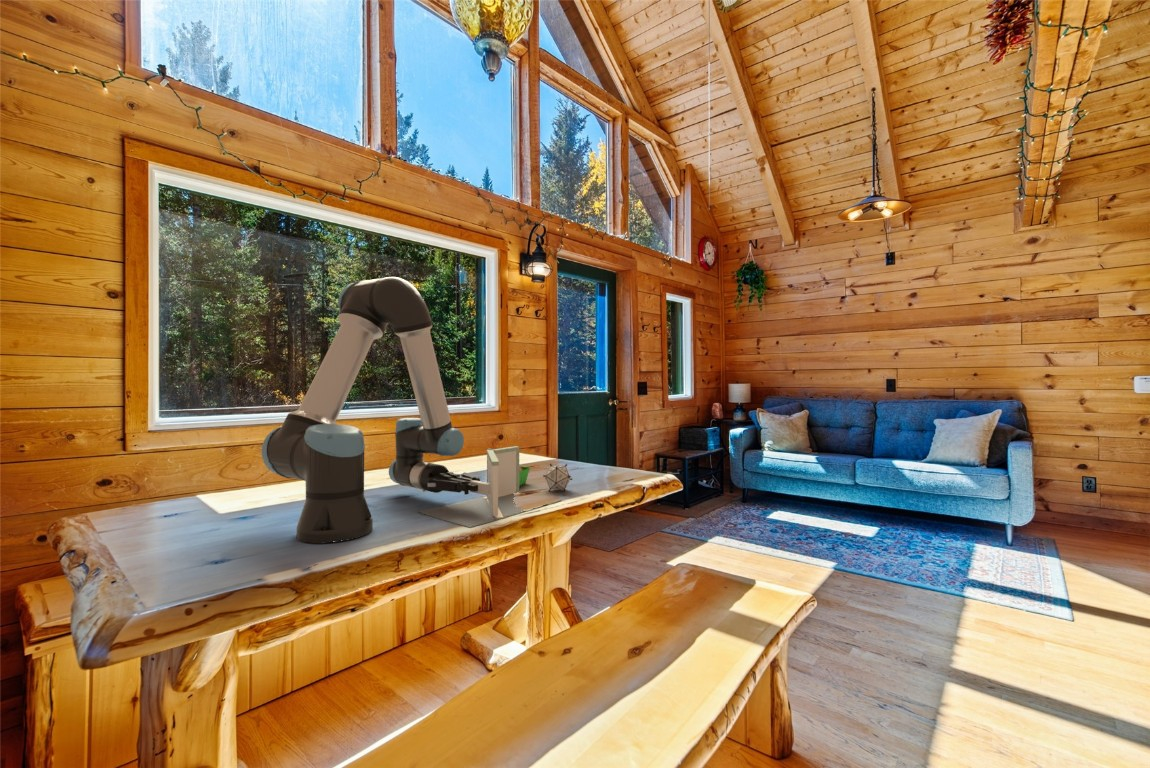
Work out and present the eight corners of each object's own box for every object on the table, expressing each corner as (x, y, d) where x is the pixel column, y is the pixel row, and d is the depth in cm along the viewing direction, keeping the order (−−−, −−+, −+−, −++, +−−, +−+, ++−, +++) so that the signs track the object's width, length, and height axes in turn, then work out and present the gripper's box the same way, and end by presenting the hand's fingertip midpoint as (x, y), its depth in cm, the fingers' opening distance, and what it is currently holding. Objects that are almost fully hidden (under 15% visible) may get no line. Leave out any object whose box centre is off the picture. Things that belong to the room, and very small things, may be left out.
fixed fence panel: (495, 498, 144) (495, 450, 144) (491, 497, 145) (491, 449, 145) (519, 492, 151) (519, 446, 151) (515, 491, 152) (515, 446, 152)
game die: (562, 501, 155) (580, 474, 158) (559, 498, 147) (578, 469, 150) (538, 485, 158) (556, 458, 160) (533, 481, 150) (553, 452, 152)
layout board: (470, 528, 116) (470, 526, 116) (418, 512, 129) (418, 511, 129) (561, 501, 141) (561, 499, 141) (510, 490, 154) (510, 489, 154)
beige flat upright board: (498, 517, 124) (498, 460, 124) (492, 517, 123) (492, 460, 123) (492, 497, 144) (492, 448, 144) (486, 497, 144) (486, 448, 144)
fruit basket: (515, 490, 154) (515, 453, 154) (489, 488, 157) (489, 451, 157) (531, 483, 165) (531, 448, 165) (506, 481, 168) (506, 446, 167)
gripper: (449, 486, 146) (508, 499, 131) (410, 495, 136) (468, 510, 121) (449, 460, 146) (508, 470, 131) (410, 466, 136) (468, 478, 121)
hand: (489, 489), depth 126 cm, fingers closed
